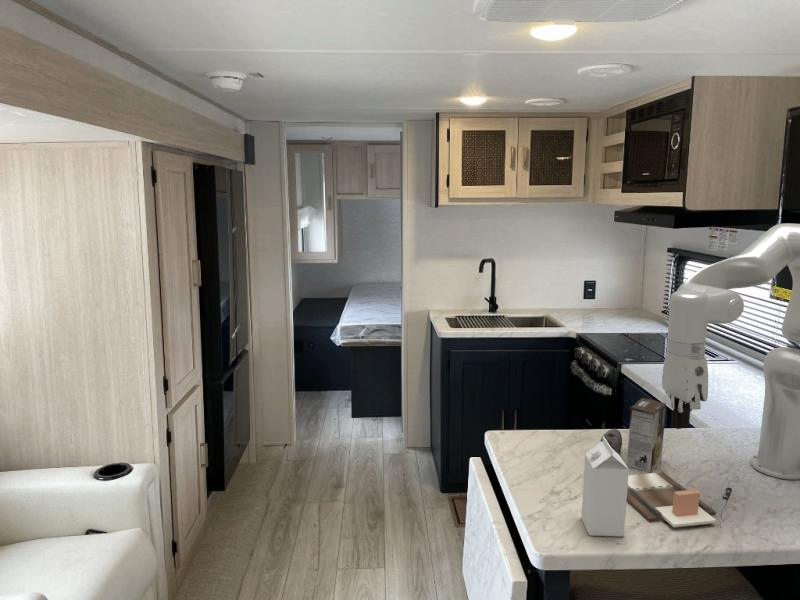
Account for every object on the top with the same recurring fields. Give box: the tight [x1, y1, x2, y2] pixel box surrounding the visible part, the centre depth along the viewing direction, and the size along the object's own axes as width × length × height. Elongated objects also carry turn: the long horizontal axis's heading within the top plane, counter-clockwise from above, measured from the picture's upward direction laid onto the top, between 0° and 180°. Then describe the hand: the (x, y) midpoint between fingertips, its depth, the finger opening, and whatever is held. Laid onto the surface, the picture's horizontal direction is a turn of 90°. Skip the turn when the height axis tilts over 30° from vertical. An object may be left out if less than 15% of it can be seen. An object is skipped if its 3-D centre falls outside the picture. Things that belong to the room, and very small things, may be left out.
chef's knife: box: [709, 487, 733, 522], centre depth 138 cm, size 19×1×3 cm
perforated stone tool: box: [600, 428, 623, 455], centre depth 163 cm, size 15×5×7 cm, turn 150°
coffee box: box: [626, 397, 667, 474], centre depth 157 cm, size 9×6×16 cm
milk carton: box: [580, 435, 630, 537], centre depth 127 cm, size 7×7×19 cm
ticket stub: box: [656, 489, 717, 528], centre depth 131 cm, size 10×7×6 cm
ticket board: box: [626, 472, 716, 523], centre depth 141 cm, size 16×19×2 cm
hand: (680, 426), depth 136 cm, fingers closed
